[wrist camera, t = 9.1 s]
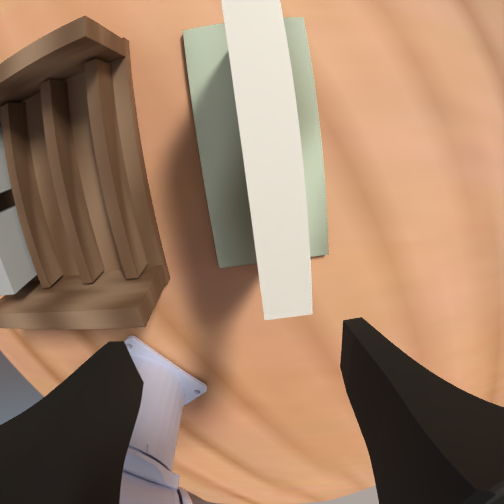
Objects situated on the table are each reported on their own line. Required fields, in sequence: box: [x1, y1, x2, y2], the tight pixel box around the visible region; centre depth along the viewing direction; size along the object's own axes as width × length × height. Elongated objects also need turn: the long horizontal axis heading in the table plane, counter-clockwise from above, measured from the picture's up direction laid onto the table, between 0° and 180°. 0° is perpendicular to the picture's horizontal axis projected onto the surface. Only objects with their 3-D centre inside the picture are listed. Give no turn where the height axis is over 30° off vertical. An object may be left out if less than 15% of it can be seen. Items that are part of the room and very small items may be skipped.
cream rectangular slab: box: [221, 0, 313, 320], centre depth 12 cm, size 2×12×8 cm, turn 7°
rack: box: [0, 16, 329, 329], centre depth 14 cm, size 24×16×6 cm, turn 97°
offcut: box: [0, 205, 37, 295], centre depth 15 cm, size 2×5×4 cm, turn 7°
